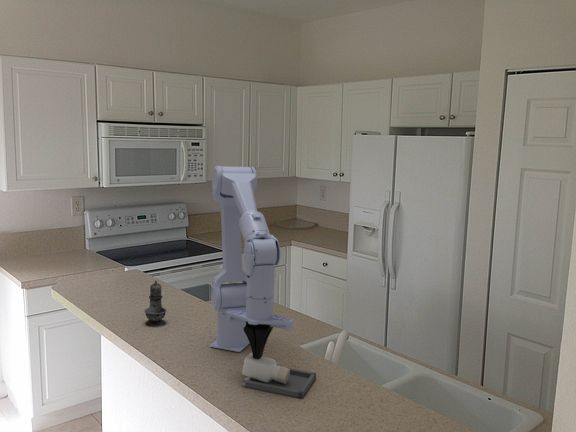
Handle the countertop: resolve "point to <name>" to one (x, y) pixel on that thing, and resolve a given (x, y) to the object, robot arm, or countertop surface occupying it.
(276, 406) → the countertop surface
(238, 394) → the countertop surface
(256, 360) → the pepper shaker
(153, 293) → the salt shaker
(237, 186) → the robot arm
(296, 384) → the tray
